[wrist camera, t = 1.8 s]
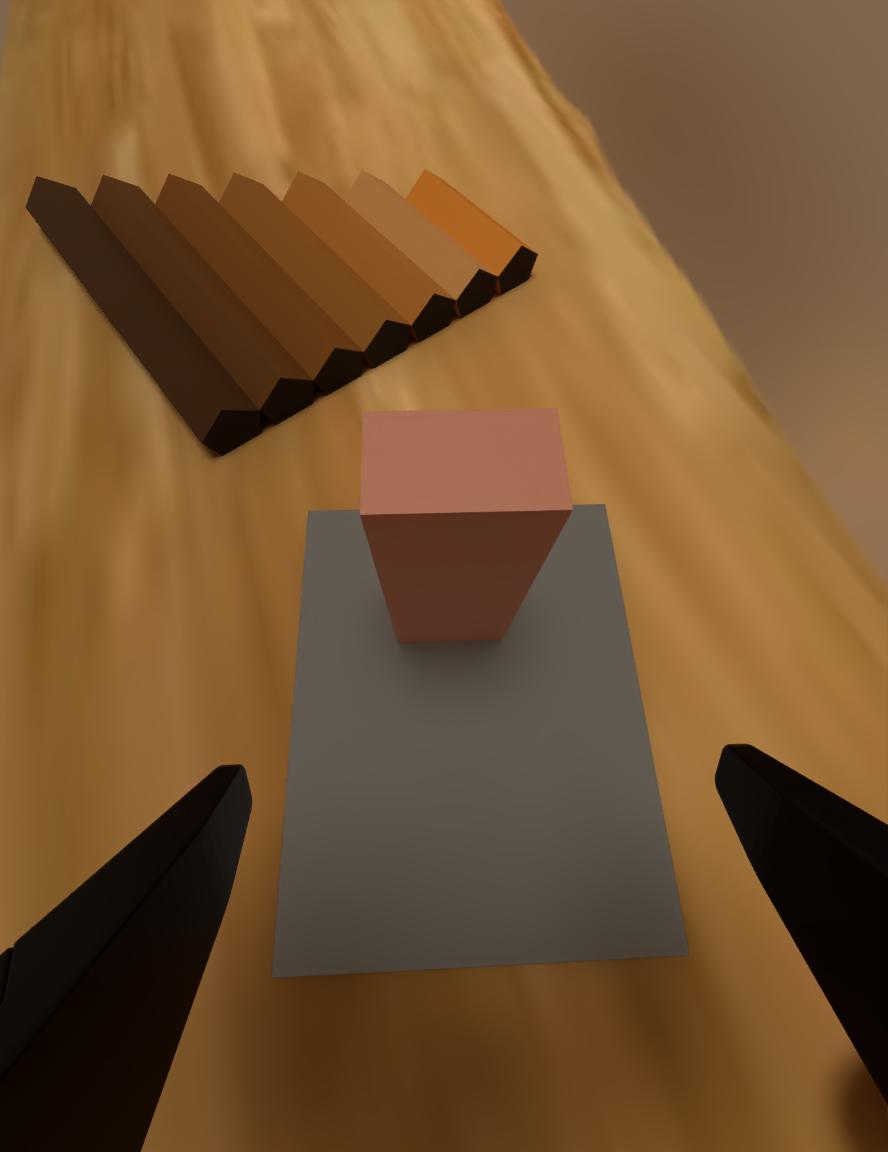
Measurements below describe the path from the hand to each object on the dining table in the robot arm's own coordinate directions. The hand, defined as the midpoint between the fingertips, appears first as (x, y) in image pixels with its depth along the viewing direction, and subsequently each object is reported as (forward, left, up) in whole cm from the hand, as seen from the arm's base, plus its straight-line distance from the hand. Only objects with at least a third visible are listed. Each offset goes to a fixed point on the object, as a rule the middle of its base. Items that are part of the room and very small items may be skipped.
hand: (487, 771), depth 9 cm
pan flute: (+22, +28, -14) cm, 38 cm away
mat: (+3, +1, -13) cm, 14 cm away
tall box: (+6, +4, -13) cm, 14 cm away
